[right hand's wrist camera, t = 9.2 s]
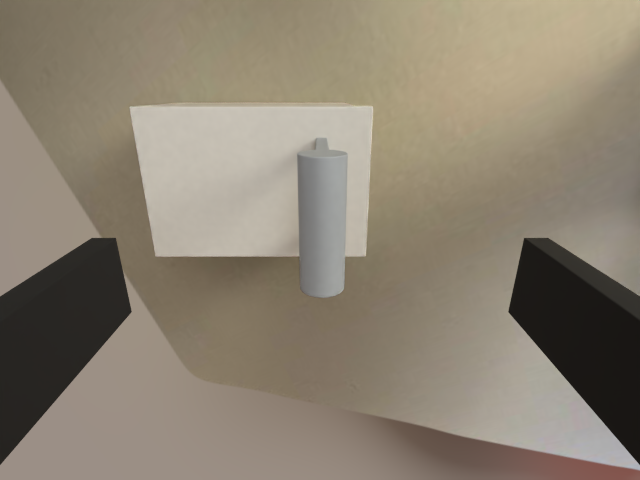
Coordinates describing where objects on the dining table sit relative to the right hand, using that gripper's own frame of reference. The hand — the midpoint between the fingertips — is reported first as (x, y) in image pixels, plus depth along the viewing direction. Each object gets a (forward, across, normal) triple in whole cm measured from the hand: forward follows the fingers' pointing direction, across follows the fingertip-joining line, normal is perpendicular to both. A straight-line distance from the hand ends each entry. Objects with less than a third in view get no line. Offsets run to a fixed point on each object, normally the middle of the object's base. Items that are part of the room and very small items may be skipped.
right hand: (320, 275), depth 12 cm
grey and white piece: (+14, -4, 0) cm, 14 cm away
